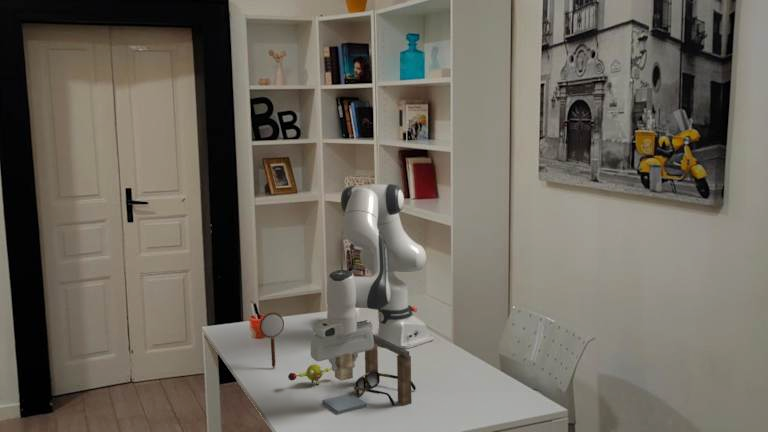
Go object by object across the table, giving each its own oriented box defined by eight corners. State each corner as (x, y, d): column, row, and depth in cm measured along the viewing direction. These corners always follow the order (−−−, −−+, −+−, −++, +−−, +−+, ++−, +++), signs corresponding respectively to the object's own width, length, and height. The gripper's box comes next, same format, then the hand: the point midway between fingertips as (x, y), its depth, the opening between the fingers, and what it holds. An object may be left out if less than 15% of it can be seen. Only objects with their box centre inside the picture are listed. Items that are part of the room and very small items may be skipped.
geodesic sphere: (342, 320, 299) (353, 289, 304) (314, 315, 306) (326, 285, 312) (359, 334, 310) (369, 303, 315) (332, 329, 317) (343, 299, 322)
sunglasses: (394, 406, 228) (393, 390, 227) (351, 397, 235) (351, 381, 235) (415, 390, 240) (415, 375, 239) (375, 382, 247) (374, 367, 247)
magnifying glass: (262, 371, 260) (260, 315, 257) (261, 370, 261) (258, 314, 258) (286, 367, 264) (284, 311, 261) (284, 365, 265) (282, 310, 262)
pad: (350, 396, 237) (350, 393, 236) (367, 406, 228) (367, 403, 228) (322, 403, 231) (322, 400, 231) (338, 414, 223) (337, 411, 223)
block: (346, 374, 231) (345, 349, 230) (352, 378, 228) (352, 352, 227) (334, 376, 229) (334, 351, 228) (341, 380, 226) (340, 355, 224)
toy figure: (292, 392, 240) (291, 372, 239) (286, 387, 245) (285, 367, 244) (343, 382, 248) (343, 362, 247) (336, 377, 253) (336, 357, 252)
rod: (370, 337, 247) (370, 332, 246) (409, 356, 227) (409, 351, 227) (366, 338, 246) (365, 333, 246) (404, 357, 226) (404, 352, 226)
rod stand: (373, 381, 249) (372, 337, 247) (411, 403, 230) (410, 356, 228) (365, 382, 247) (364, 339, 245) (403, 405, 229) (402, 358, 226)
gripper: (366, 316, 234) (367, 359, 236) (307, 328, 223) (308, 372, 225) (377, 321, 229) (378, 365, 231) (317, 333, 218) (318, 379, 220)
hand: (343, 369), depth 228 cm, fingers closed on block, 4 cm apart
